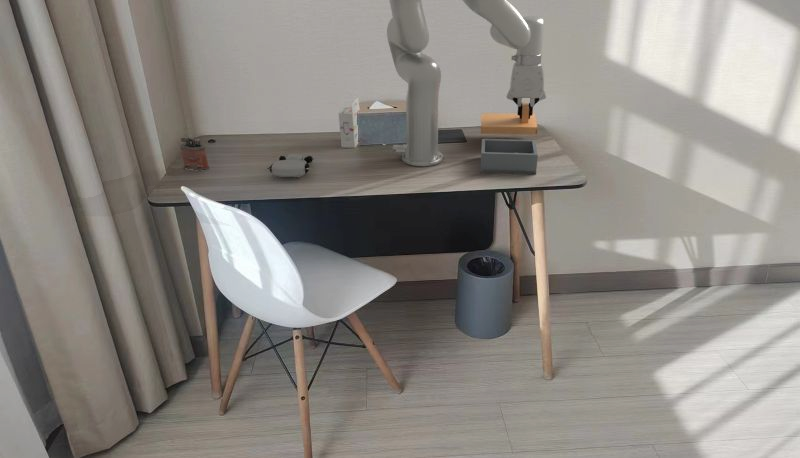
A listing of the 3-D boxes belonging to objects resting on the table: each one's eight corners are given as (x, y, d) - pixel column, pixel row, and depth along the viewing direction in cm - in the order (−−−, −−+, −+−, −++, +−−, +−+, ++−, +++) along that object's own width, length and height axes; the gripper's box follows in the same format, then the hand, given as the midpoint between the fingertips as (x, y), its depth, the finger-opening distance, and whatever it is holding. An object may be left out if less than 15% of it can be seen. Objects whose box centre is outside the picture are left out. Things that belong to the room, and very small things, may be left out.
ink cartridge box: (347, 138, 205) (344, 96, 198) (361, 139, 205) (359, 96, 198) (340, 147, 198) (337, 103, 191) (355, 148, 197) (352, 104, 190)
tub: (480, 172, 178) (481, 153, 175) (481, 157, 188) (481, 138, 185) (536, 174, 176) (537, 154, 173) (533, 158, 186) (535, 140, 183)
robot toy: (278, 165, 188) (266, 181, 175) (277, 151, 187) (264, 166, 173) (317, 165, 188) (308, 182, 174) (316, 151, 186) (307, 166, 172)
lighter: (211, 167, 186) (205, 136, 181) (205, 171, 183) (199, 140, 178) (188, 165, 188) (182, 134, 183) (182, 169, 185) (175, 138, 180)
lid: (480, 133, 191) (481, 111, 188) (481, 119, 203) (482, 98, 199) (536, 134, 189) (538, 111, 185) (534, 120, 200) (536, 98, 197)
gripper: (502, 62, 182) (499, 121, 191) (556, 62, 180) (551, 121, 189) (502, 56, 189) (499, 113, 198) (554, 56, 187) (549, 114, 196)
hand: (524, 117), depth 193 cm, fingers closed on lid
